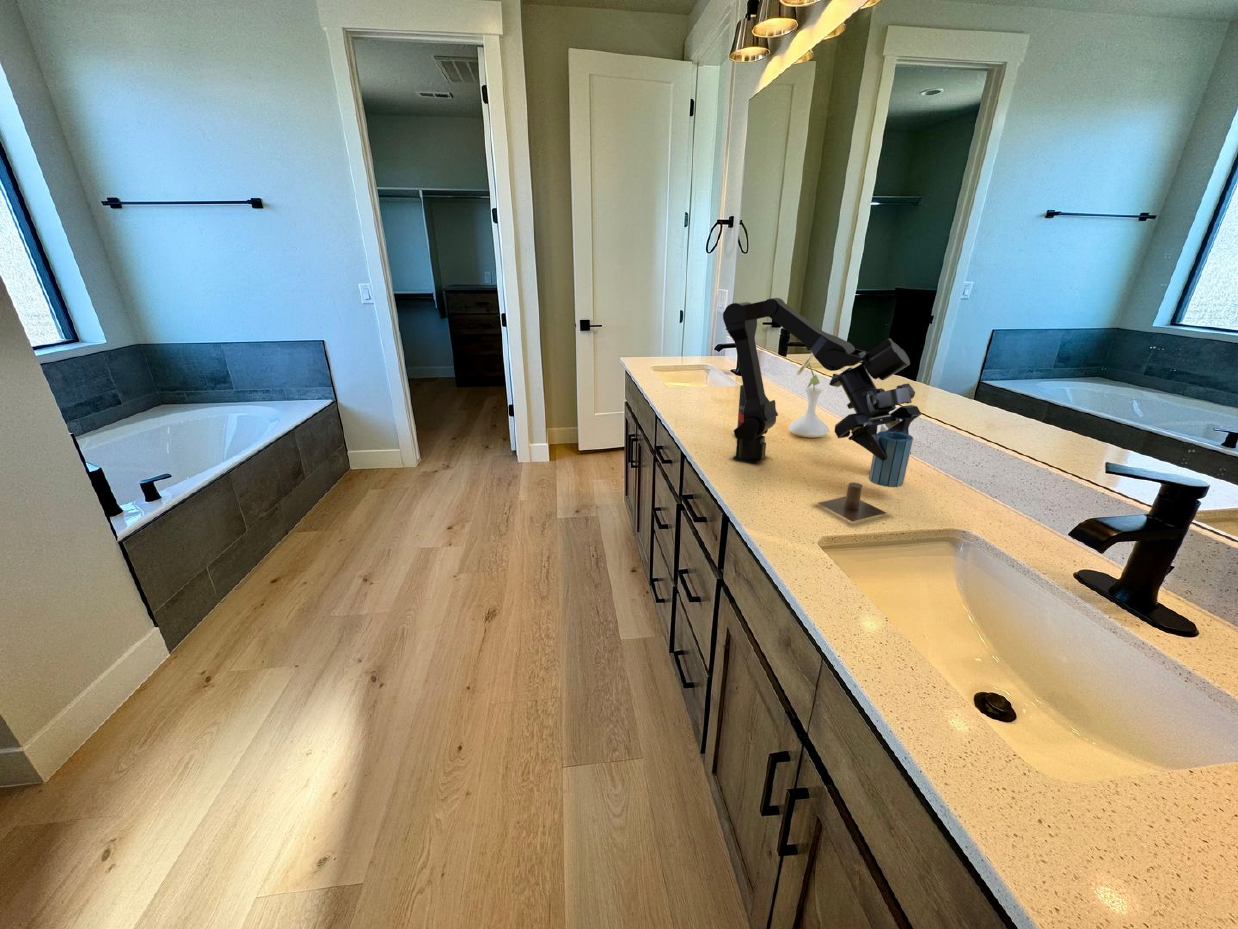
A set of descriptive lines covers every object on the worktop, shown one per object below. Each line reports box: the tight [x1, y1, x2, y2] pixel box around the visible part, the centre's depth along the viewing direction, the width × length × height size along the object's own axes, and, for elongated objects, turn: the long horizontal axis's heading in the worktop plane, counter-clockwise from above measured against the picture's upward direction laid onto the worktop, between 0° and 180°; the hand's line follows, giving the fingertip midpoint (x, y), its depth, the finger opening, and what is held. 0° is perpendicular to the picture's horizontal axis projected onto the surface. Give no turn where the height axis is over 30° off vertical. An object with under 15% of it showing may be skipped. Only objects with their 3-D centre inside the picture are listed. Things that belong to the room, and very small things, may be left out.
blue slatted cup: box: [868, 431, 914, 488], centre depth 101 cm, size 6×6×10 cm
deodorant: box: [736, 384, 746, 428], centre depth 143 cm, size 6×6×15 cm
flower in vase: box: [788, 352, 830, 438], centre depth 141 cm, size 13×11×25 cm
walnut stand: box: [817, 482, 887, 523], centre depth 98 cm, size 9×9×6 cm
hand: (896, 457), depth 100 cm, fingers closed on blue slatted cup, 6 cm apart
